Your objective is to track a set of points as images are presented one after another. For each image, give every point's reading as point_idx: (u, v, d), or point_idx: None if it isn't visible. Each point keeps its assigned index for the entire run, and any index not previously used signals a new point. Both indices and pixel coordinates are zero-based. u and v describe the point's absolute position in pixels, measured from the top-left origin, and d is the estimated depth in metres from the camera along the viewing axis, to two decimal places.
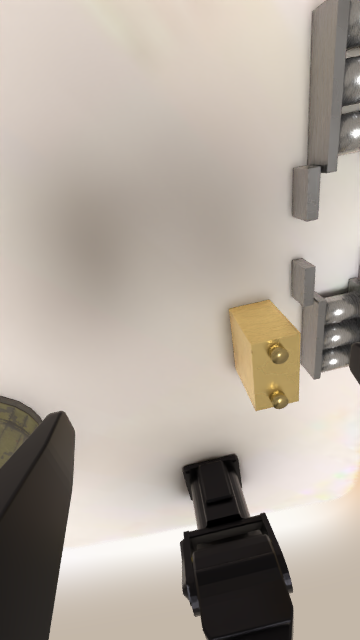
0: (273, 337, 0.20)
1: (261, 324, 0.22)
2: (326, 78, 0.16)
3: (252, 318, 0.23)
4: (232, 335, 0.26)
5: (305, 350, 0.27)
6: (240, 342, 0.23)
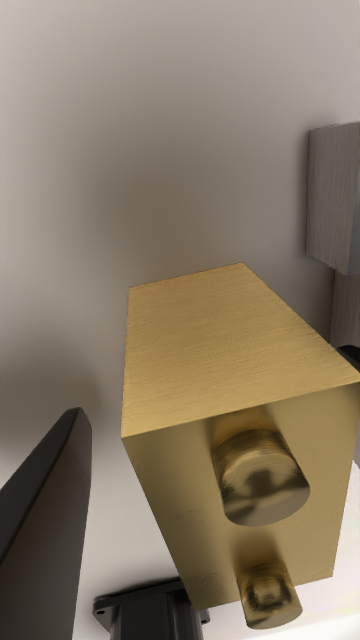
0: (236, 400, 0.04)
1: (201, 334, 0.06)
2: None
3: (180, 311, 0.07)
4: None
5: None
6: None
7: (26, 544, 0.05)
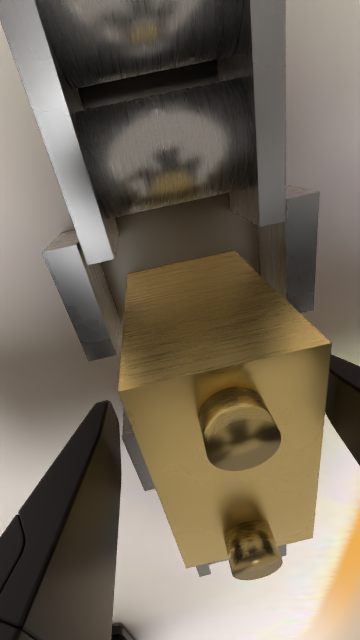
0: (218, 361, 0.05)
1: (191, 311, 0.06)
2: None
3: (174, 293, 0.07)
4: None
5: None
6: None
7: (73, 533, 0.05)
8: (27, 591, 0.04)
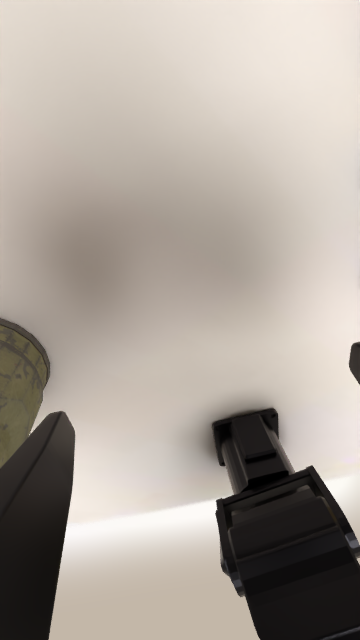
0: None
1: None
2: None
3: None
4: None
5: None
6: None
7: None
8: None
